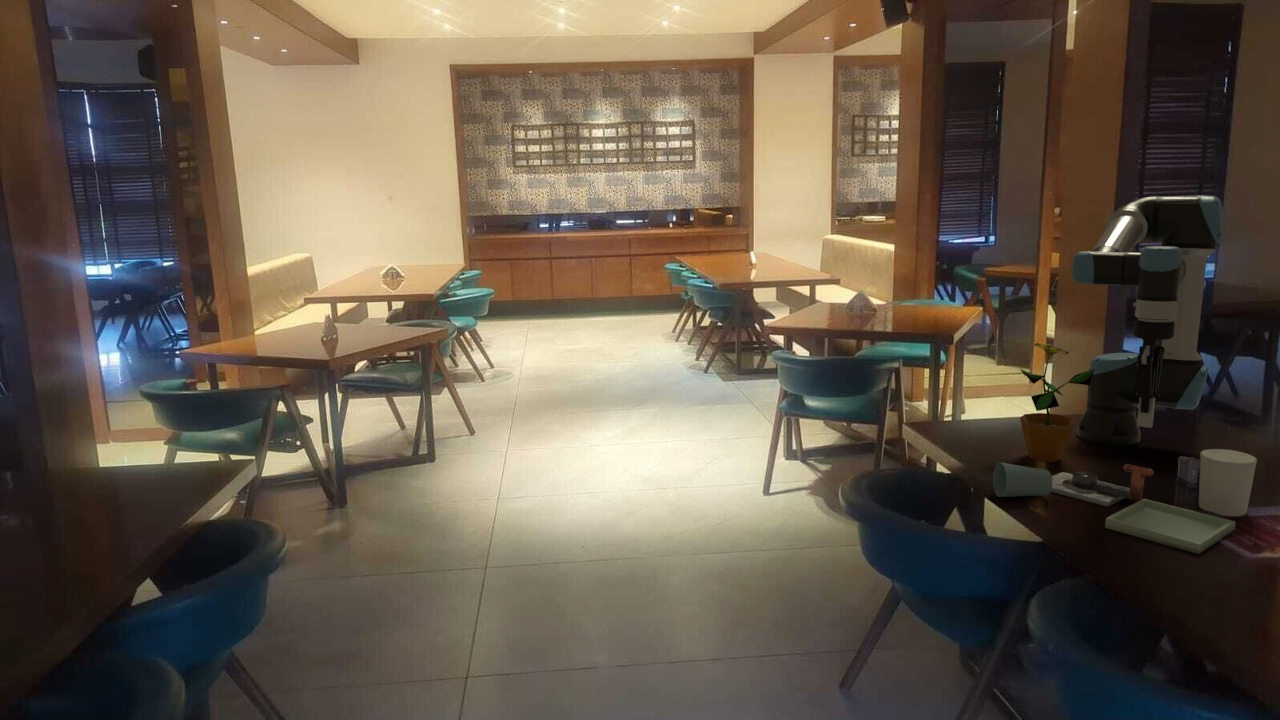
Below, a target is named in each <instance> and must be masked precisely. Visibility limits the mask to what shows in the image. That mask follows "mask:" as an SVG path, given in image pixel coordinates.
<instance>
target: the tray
mask: <svg viewBox="0 0 1280 720" xmlns="http://www.w3.org/2000/svg"><path fill="white" fill-rule="evenodd" d="M1104 524H1105V525H1104V528H1105V529H1108V530H1111V531H1115V532H1119V533H1123V534H1127V535H1130V536H1133V537H1137V538H1141V539H1144V540H1148V541H1152V542H1154V543H1159V544H1162V545H1166V546H1170V547H1172V548H1177V549H1181V550H1184V551H1188V552H1190V553H1194V554H1198V555H1200V554H1201V553H1203V552H1204V551H1205V550H1208V549H1209V548H1210V547H1212V546H1214V545H1215V544H1216V543H1218V542H1219V541H1218V539H1220V538H1222V537H1224V536H1226V535H1227V534H1229V533H1230V532H1232V531H1233V530H1236V521H1235V520H1230V519H1227V518H1223V517H1218V516H1215V515H1211V514H1206V513H1202V512H1198V511H1195V510H1190V509H1187V508H1183V507H1179V506H1175V505H1170V504H1168V503H1167V504H1166V503H1163V502H1160V501H1156V500H1152V499H1151V500H1150V499H1148V498H1142V500H1137V502H1135V503H1132V504H1131V505H1129V506H1126V507H1124V508H1122V509H1121V510H1119V511H1117V512H1115V513H1113V514H1111V515H1109V516H1108V517H1106V518H1105V522H1104ZM1233 532H1234V531H1233ZM1233 532H1232V533H1233ZM1230 534H1231V533H1230ZM1230 534H1229V535H1230ZM1227 536H1228V535H1227ZM1227 536H1226V537H1227ZM1224 538H1225V537H1224ZM1222 539H1223V538H1222ZM1217 541H1218V542H1217Z"/></svg>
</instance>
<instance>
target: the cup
mask: <svg viewBox="0 0 1280 720" xmlns="http://www.w3.org/2000/svg"><path fill="white" fill-rule="evenodd" d="M992 479H993V480H992V481H993V483H992V484H993V489H994V490H993V491H994V492H995V495H996V496H997V497H998V498H1008V497H1029V496H1030V497H1034V496H1035V497H1038V496H1048V495H1050V493H1051V492H1050V491H1051V488H1052V474H1051V472H1050V471H1049V470H1047V469H1042V468H1037V467H1029V466H1023V465H1017V464H1012V463H1005V462H1001V461H1000V462H998V463H997V464H996V465H995V467H994V471H993V477H992Z"/></svg>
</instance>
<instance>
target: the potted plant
mask: <svg viewBox="0 0 1280 720" xmlns="http://www.w3.org/2000/svg"><path fill="white" fill-rule="evenodd" d="M1033 346H1035V347H1038V348H1041V349H1043V351H1044V352H1045V354H1047V355H1048V356H1047V360H1046V364H1045V367H1044V373H1043V375H1041V374H1034V373H1031V372H1029V371H1026V370H1024V369H1022V368H1020V369H1019V370H1020V372H1021V373H1022V374H1023V376H1025V377H1027V379H1028V380H1029V381H1030V382H1031V383H1032V384H1033V385H1035V384H1036V383H1037V382H1039V381H1040V380H1041V381H1042V387H1043V388H1042V389H1043V393H1039V394H1035V395H1031V396H1030V398H1031V400H1032V402H1033V405H1034V408H1035V410H1036V412H1035V413H1024V414H1023V415H1021V416H1020V418H1019V420H1020V424H1021V429H1022V434H1023V437H1024V438H1023V439H1024V442H1025V447H1026V450H1027V455H1028V457H1029V458H1030V459H1032V460H1034V461H1039V462H1042V463H1043V462H1045V463H1046V462H1047V463H1051V462H1052V463H1056V462H1058V461H1061V460H1062V456H1063V454H1064V451H1065V449H1066V446H1067V443H1068V440H1069V439H1070V435H1071V433H1072V431H1073V429H1074V425H1075V421H1074V420H1073V418H1072V417H1067V416H1064V415H1060V414H1058V413H1057V414H1055V413H1050V409H1053V408H1054V409H1055V408H1057V407H1060V404H1059V402H1058V400H1057V397H1056V395H1055V393H1057V394H1059V395H1060V396H1063V397H1064V395H1063V394H1062V393H1061V392H1060V389H1061V388H1063V387H1064V386H1066V385H1067V384H1076V385H1083V386H1088V385H1090V382H1091V379H1092V376H1093V372H1094V369H1092V370H1089V369H1088V370H1086V371H1084V372H1080V373H1078V374H1075V375H1073V376H1072V377H1071V378H1070V379H1069V381H1067V382H1064V383H1063V384H1061V385H1060V386H1058V387H1056V386H1055V385H1053V384H1052V383H1050V382H1048V381H1047V379H1046V375H1047V374H1046V373H1047V369H1048V365H1049V360H1050V357H1051V356H1052V355H1055V354H1057V353H1059V354H1061V355H1062V354H1063V355H1068V354H1070V352H1069V351H1066V350H1063V349H1061V348H1058V347H1055V346H1051V345H1046V344H1041V343H1034V344H1033ZM1046 387H1047V389H1046ZM1043 410H1046V413H1044V412H1040V411H1043Z"/></svg>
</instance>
